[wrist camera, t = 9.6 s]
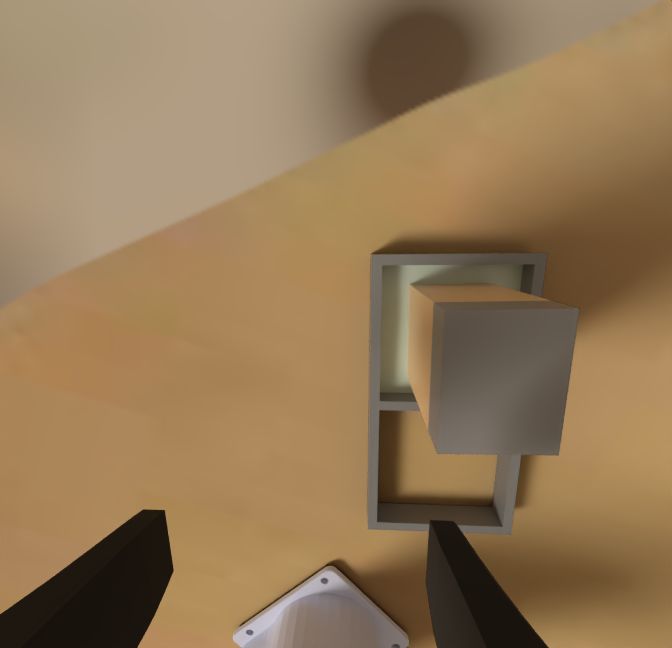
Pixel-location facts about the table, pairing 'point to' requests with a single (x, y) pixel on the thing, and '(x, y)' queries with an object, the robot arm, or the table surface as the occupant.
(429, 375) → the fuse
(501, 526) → the gray divided rectangular frame
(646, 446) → the table surface
